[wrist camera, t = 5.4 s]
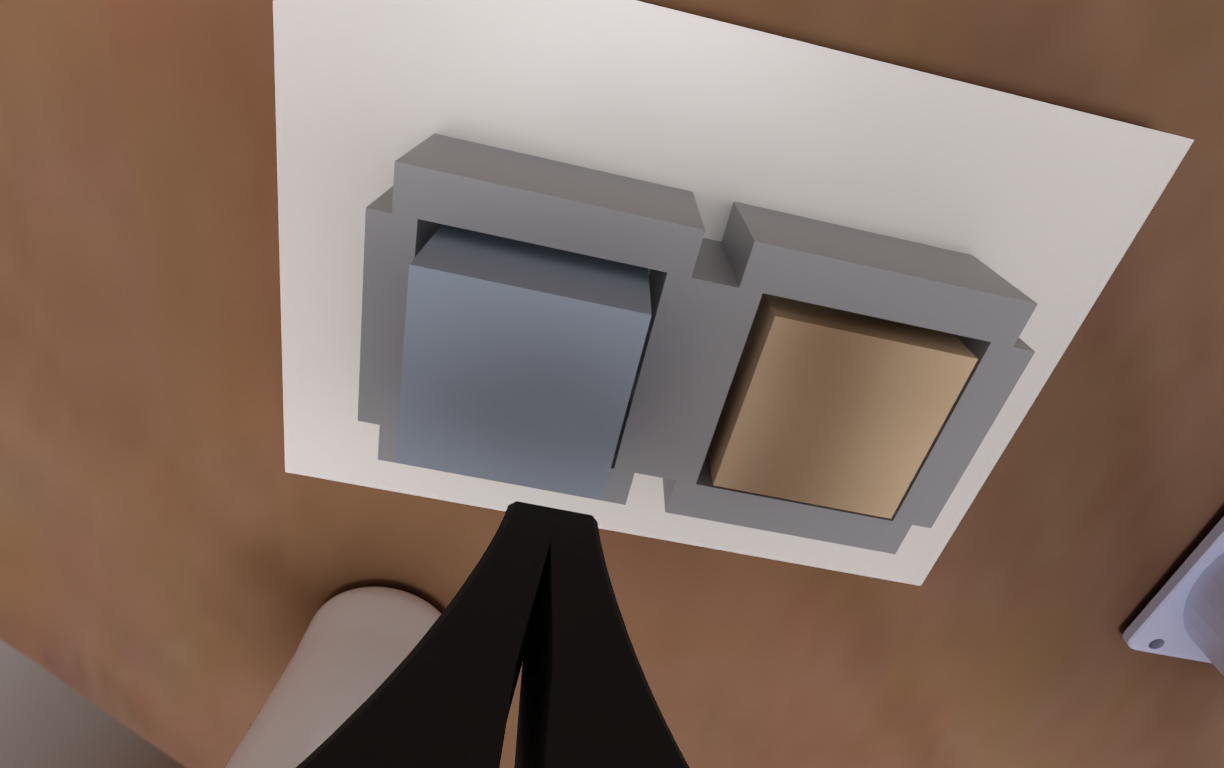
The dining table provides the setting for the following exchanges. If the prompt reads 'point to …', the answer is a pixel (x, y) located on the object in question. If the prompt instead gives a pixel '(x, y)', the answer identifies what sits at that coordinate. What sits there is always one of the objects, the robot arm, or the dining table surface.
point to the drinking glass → (333, 673)
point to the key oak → (834, 406)
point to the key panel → (684, 235)
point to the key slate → (518, 360)
